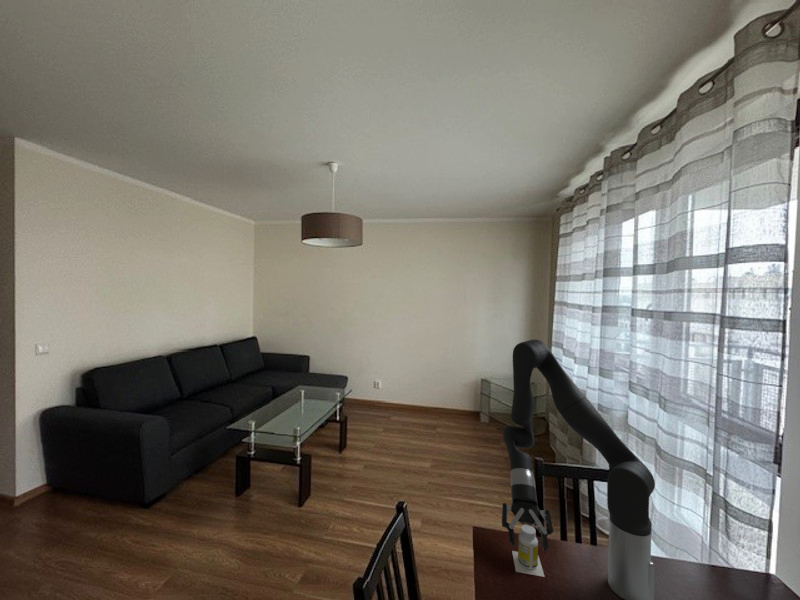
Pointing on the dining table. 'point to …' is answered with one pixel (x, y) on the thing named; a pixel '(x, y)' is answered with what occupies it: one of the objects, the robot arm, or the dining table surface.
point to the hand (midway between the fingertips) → (528, 548)
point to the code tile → (521, 569)
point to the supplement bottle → (528, 547)
